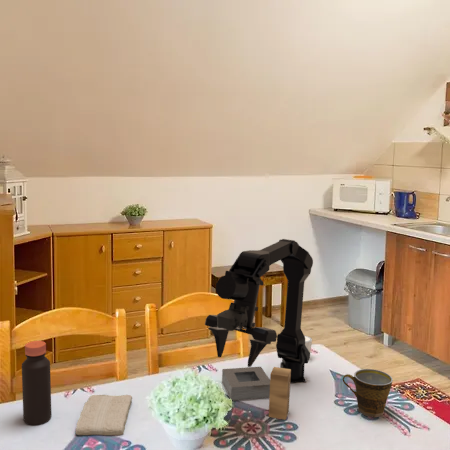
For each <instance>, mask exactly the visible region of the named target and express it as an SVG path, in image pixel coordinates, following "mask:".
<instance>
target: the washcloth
mask: <svg viewBox="0 0 450 450" xmlns="http://www.w3.org/2000/svg"><path fill="white" fill-rule="evenodd" d="M88 397H89V398H88V399H87V401H85V403H84V404H83V407H82V410H81V411H80V414H79V415H80V416H79V418H78V420H77V423H76V427H75V435H78V436H92V435H93V436H121V435H124V433H125V429H126V423H127V421H128V418H129V412H130V410H131V409H130V408H131V405H132V401H133V396H132V395H130V394H122V395H109V394H92V395H90V396H88Z"/></svg>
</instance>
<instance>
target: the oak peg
mask: <svg viewBox="0 0 450 450" xmlns="http://www.w3.org/2000/svg"><path fill="white" fill-rule="evenodd" d="M269 377H270V378H269V379H270V396H269V398H268V400H269V401H268V418H272V419H279V420H287V418H288V415H289V412H290V411H289V410H290V396H291V395H290V393H291V383H290V377H291V369H285V368H280V367H277V366H273V367H272V370H271V372H270V376H269Z"/></svg>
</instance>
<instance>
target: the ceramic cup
mask: <svg viewBox="0 0 450 450" xmlns="http://www.w3.org/2000/svg"><path fill="white" fill-rule="evenodd" d="M345 378H350V379H351V380H352V382H353V384H354V386H355V390H353V388H352V387H351V386H350V384H348V383H346V382H347V381H345ZM342 382H343V384H344V385H345V386H346V387H348V389H350V391H351V392H352V393H353V394H354V396H355V397H356V403H357V411H358V412H359V413H360V414H361V415H363V416H365V417H370V418H378V417H379V418H380V417H382V416H383V415H384V412H385V408H386V404H387V401H388V398H389V395H390V393H391V389H392V385H393V382H394V381H393V377H392V376H391V375H390V374H389V373H387V372H384V371H382V370H379V369H375V368H374V369H372V368H363V369H362V368H361V369H359V370H356V371H355V372H354V374H353V375H352V374H349V373H348V374H345V375H343V376H342Z"/></svg>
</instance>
